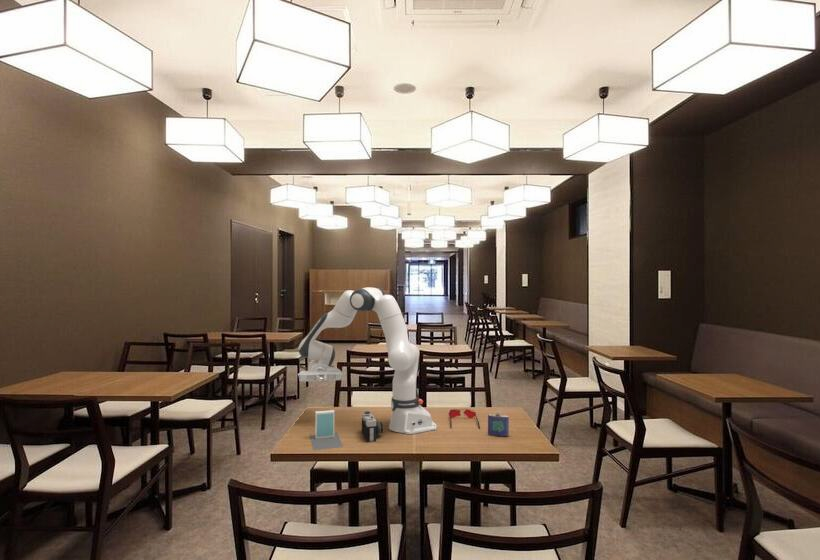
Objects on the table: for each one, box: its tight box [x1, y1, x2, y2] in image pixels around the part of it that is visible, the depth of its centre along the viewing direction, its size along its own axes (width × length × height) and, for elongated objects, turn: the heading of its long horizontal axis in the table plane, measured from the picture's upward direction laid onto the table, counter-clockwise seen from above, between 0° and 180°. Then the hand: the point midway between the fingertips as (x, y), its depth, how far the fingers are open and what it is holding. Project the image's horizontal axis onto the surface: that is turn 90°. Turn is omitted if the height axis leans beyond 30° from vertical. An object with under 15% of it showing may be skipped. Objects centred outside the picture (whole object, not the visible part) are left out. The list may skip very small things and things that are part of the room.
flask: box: [487, 411, 510, 438], centre depth 195 cm, size 9×3×11 cm, turn 78°
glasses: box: [448, 408, 481, 430], centre depth 212 cm, size 14×16×5 cm
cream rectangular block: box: [314, 409, 336, 438], centre depth 190 cm, size 8×3×11 cm, turn 107°
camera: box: [361, 411, 384, 443], centre depth 191 cm, size 14×9×10 cm, turn 8°
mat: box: [309, 432, 344, 451], centre depth 185 cm, size 12×18×1 cm, turn 17°
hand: (322, 379), depth 201 cm, fingers closed
